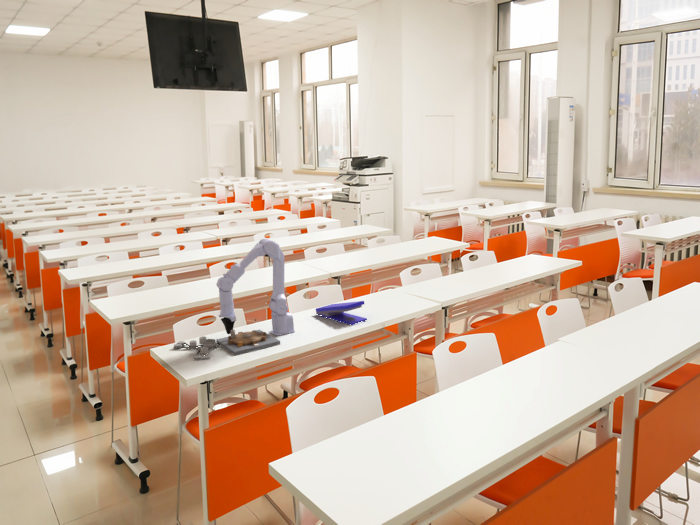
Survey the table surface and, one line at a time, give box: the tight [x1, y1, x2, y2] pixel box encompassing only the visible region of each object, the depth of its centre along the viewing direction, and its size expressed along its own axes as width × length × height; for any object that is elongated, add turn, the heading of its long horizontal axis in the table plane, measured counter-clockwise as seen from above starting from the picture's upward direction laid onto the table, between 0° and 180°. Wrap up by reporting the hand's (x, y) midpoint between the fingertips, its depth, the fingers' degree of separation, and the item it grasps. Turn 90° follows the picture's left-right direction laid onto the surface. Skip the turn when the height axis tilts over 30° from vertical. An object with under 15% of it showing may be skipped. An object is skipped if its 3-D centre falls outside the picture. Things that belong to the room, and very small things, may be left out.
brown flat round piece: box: [227, 329, 267, 346], centre depth 247 cm, size 17×17×5 cm
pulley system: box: [173, 335, 218, 361], centre depth 242 cm, size 27×5×15 cm
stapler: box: [315, 300, 368, 326], centre depth 279 cm, size 12×28×10 cm, turn 41°
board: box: [215, 329, 281, 356], centre depth 247 cm, size 21×22×2 cm
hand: (229, 333), depth 249 cm, fingers closed
